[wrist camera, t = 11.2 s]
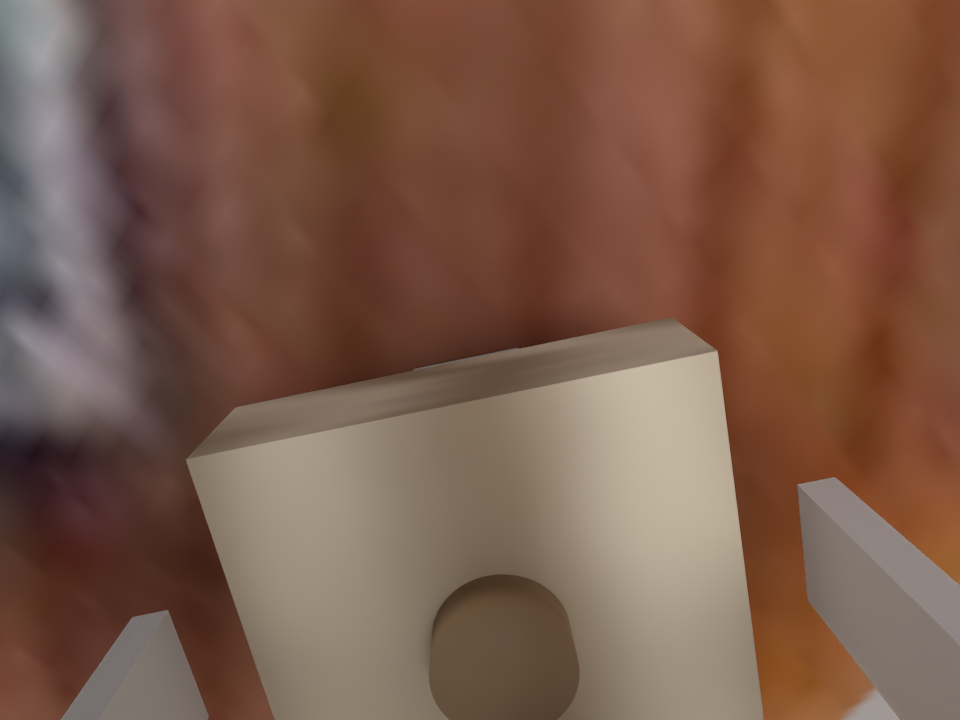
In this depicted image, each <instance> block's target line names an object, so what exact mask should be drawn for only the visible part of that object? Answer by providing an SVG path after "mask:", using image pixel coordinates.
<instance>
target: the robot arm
mask: <svg viewBox="0 0 960 720" xmlns="http://www.w3.org/2000/svg"><path fill="white" fill-rule="evenodd" d="M797 487H798V498H799V510H800V521H801V532H802V543H803V554H804V565H805V576H806V587H807V598H808V601H809V603H810V604H811V605H812V607H813V608H814V609H815V610H816V612H817V613H818V614H819V616H820V617H821V618H822V619H823V621H824V622H825V623H826V625H827V626H828V627H829V628H830V630H831V631H832V632H833V634H834V635H835V636H836V637H837V639H838V640H839V641H840V643H841V644H842V645H843V647H844V648H845V649H846V650H847V652H848V653H849V654H850V656H851V657H852V658H853V659H854V661H855V662H856V663H857V665H858V666H859V667H860V668H861V670H862V671H863V672H864V674H865V675H866V676H867V677H868V679H869V680H870V681H871V683H872V684H873V685H874V687H875V688H876V689H877V690H878V692H879V693H880V694H881V696H882V697H883V698H884V699H885V701H886V702H887V703H888V705H889V706H890V707H891V708H892V710H893V711H894V712H895V713H896V715H897V716H898V717H899V719H900V720H960V585H959V584H958V583H956V582H955V581H954V580H953V579H952V578H951V577H949V576H948V575H947V574H946V573H945V572H944V571H943V570H941V569H940V568H939V567H938V566H937V565H936V564H935V563H933V562H932V561H931V560H930V559H929V558H928V557H926V556H925V555H924V554H923V553H922V552H921V551H920V550H918V549H917V548H916V547H915V546H914V545H913V544H911V543H910V542H909V541H908V540H907V539H906V538H905V537H903V536H902V535H901V534H900V533H899V532H898V531H897V530H895V529H894V528H893V527H892V526H891V525H890V524H888V523H887V522H886V521H885V520H884V519H883V518H882V517H880V516H879V515H878V514H877V513H876V512H875V511H874V510H872V509H871V508H870V507H869V506H868V505H867V504H865V503H864V502H863V501H862V500H861V499H860V498H859V497H857V496H856V495H855V494H854V493H853V492H852V491H851V490H849V489H848V488H847V487H846V486H845V485H844V484H842V483H841V482H840V481H839V480H838V479H837V478H836V477H833V478H828V479H823V480H818V481H813V482H808V483H803V484H798V485H797ZM208 718H209V715H208V713H207V710H206V708H205V705H204V702H203V700H202V697H201V695H200V692H199V689H198V687H197V684H196V682H195V679H194V676H193V674H192V671H191V669H190V666H189V663H188V661H187V658H186V656H185V653H184V650H183V648H182V645H181V643H180V640H179V637H178V635H177V632H176V630H175V627H174V625H173V622H172V619H171V617H170V614H169V612H168V610H166V611H161V612H156V613H151V614H146V615H141V616H136V617H132V618H131V620H130V621H129V623H128V624H127V625H126V627H125V628H124V630H123V631H122V633H121V634H120V635H119V637H118V638H117V640H116V641H115V643H114V644H113V645H112V647H111V648H110V650H109V651H108V653H107V654H106V655H105V657H104V658H103V660H102V661H101V663H100V664H99V665H98V667H97V668H96V670H95V671H94V673H93V674H92V675H91V677H90V678H89V680H88V681H87V683H86V684H85V685H84V687H83V688H82V690H81V691H80V693H79V694H78V696H77V697H76V698H75V700H74V701H73V703H72V704H71V706H70V707H69V708H68V710H67V711H66V713H65V714H64V716H63V717H62V718H61V720H208Z"/></svg>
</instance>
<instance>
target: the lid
mask: <svg viewBox="0 0 960 720" xmlns="http://www.w3.org/2000/svg"><path fill="white" fill-rule="evenodd" d="M186 462H187V465H188V468H189V471H190V474H191V477H192V480H193V483H194V485H195V488H196V491H197V494H198V497H199V500H200V503H201V506H202V509H203V512H204V515H205V518H206V521H207V524H208V527H209V530H210V532H211V535H212V538H213V541H214V544H215V547H216V550H217V553H218V556H219V559H220V562H221V565H222V568H223V571H224V574H225V577H226V579H227V582H228V585H229V588H230V591H231V594H232V597H233V600H234V603H235V606H236V609H237V612H238V615H239V618H240V621H241V623H242V626H243V629H244V632H245V635H246V638H247V641H248V644H249V647H250V650H251V653H252V656H253V659H254V662H255V665H256V668H257V670H258V673H259V676H260V679H261V682H262V685H263V688H264V691H265V694H266V697H267V700H268V703H269V706H270V709H271V712H272V715H273V717H274V720H764V717H763V709H762V701H761V693H760V685H759V677H758V669H757V661H756V653H755V645H754V637H753V629H752V621H751V613H750V605H749V597H748V589H747V582H746V574H745V566H744V558H743V550H742V542H741V534H740V526H739V518H738V510H737V502H736V494H735V486H734V478H733V470H732V462H731V454H730V446H729V438H728V431H727V423H726V415H725V407H724V399H723V391H722V383H721V375H720V367H719V359H718V351H717V350H716V349H714V348H713V347H712V346H710V345H709V344H707V343H706V342H705V341H703V340H702V339H701V338H699V337H698V336H697V335H695V334H694V333H693V332H691V331H690V330H688V329H687V328H686V327H684V326H683V325H682V324H680V323H679V322H678V321H676V320H675V319H674V318H672V317H671V318H666V319H661V320H657V321H652V322H647V323H642V324H637V325H632V326H627V327H623V328H618V329H613V330H608V331H603V332H598V333H594V334H589V335H584V336H579V337H574V338H569V339H564V340H560V341H555V342H550V343H545V344H540V345H535V346H531V347H526V348H521V349H516V350H511V351H506V352H501V353H497V354H492V355H487V356H482V357H477V358H472V359H468V360H463V361H458V362H453V363H448V364H443V365H438V366H434V367H429V368H424V369H419V370H414V371H409V372H405V373H400V374H395V375H390V376H385V377H380V378H375V379H371V380H366V381H361V382H356V383H351V384H346V385H342V386H337V387H332V388H327V389H322V390H317V391H312V392H308V393H303V394H298V395H293V396H288V397H283V398H279V399H274V400H269V401H264V402H259V403H254V404H249V405H245V406H240V407H235V408H234V409H233V410H232V412H231V413H230V414H229V415H228V416H227V417H226V418H225V419H224V420H223V421H222V422H221V423H220V424H219V425H218V426H217V427H216V428H215V429H214V430H213V431H212V432H211V433H210V435H209V436H208V437H207V438H206V439H205V440H204V441H203V442H202V443H201V444H200V445H199V446H198V447H197V448H196V449H195V450H194V451H193V452H192V453H191V454H190V455H189V456H188V458H187V459H186Z"/></svg>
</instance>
